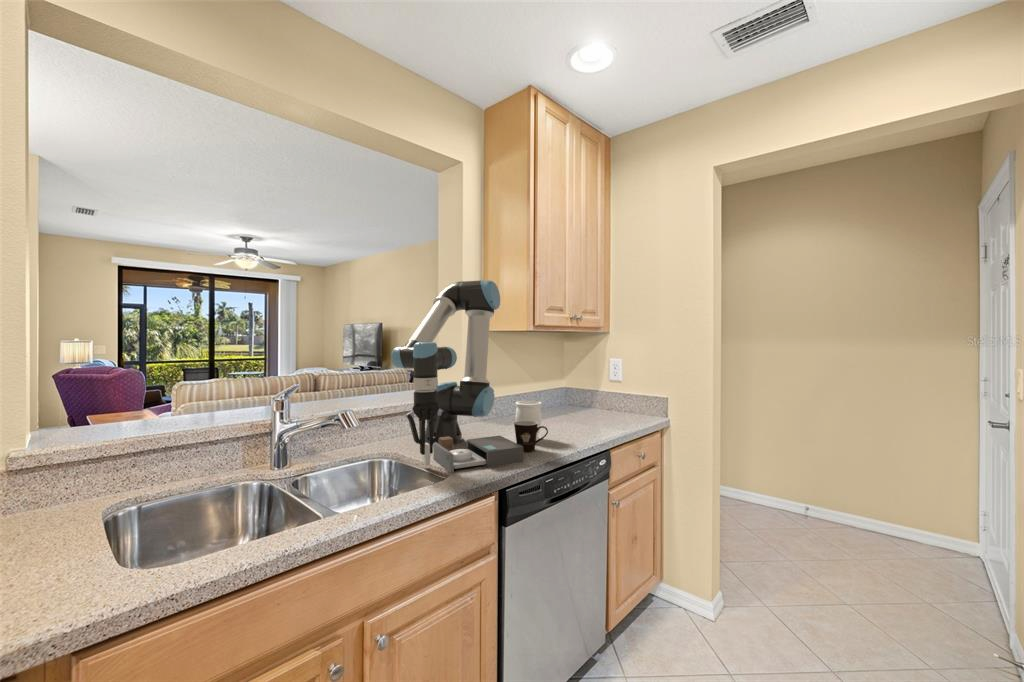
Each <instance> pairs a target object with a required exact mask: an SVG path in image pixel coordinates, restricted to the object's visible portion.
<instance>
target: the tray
mask: <svg viewBox="0 0 1024 682" xmlns="http://www.w3.org/2000/svg"><path fill="white" fill-rule="evenodd" d="M466 449H467V448H466ZM467 450H469V449H467ZM433 460H434V461H436V462H437V463H438V464H439V465H440V466H442V468H444V469H445V470H447V471H448V472H449V473H450V474H451V473H452V474H453V473H454V470H455V469H456V470H457V469H462V468H469V467H474V466H475V467H476V466H482V465H483V464H486V460H485V459H483V458H482V457H480V456H479V455H477V454H475V453H474V452H472V459H471V460H468V461H463V462H454V455H453V454H452V453H451V452H449V451H448V450H446V449H445V448H444V447H442V446H441V445H439V444H438V443H437V442H435V443H433ZM483 466H484V465H483Z"/></svg>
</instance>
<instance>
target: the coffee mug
mask: <svg viewBox="0 0 1024 682" xmlns="http://www.w3.org/2000/svg"><path fill="white" fill-rule="evenodd" d="M513 424H514V431H515V432H514V433H515V443H517V444H519V445H521V446H523V453H533V452H535V450H536V444H537V443H538V442H540V441H542V440H544V438H545V437H547V435H548V433H549V431H548V428H547V427H546V426H544V425H540V427H538V428H537V425H538V423H537V422H535V421H517V422H516V421H515V422H514V423H513ZM539 429H540V430H541V429H545V430H546V432H545V434H544V435H543V436H542V437H539V440H537V441H536V434H537V432H538V430H539Z"/></svg>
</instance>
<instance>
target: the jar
mask: <svg viewBox="0 0 1024 682" xmlns="http://www.w3.org/2000/svg"><path fill="white" fill-rule="evenodd" d="M515 406H516V410H515V422H517V421H535V422H537V423H538V425H537V428H538V427H541V426H542V409H541V406H542V402H541V401H537V400H518V401H516V402H515ZM540 431H541V428H540V429H539V430H538V432H537V434H536V441H537V440H539V439H540V437H539V434H540Z"/></svg>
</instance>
